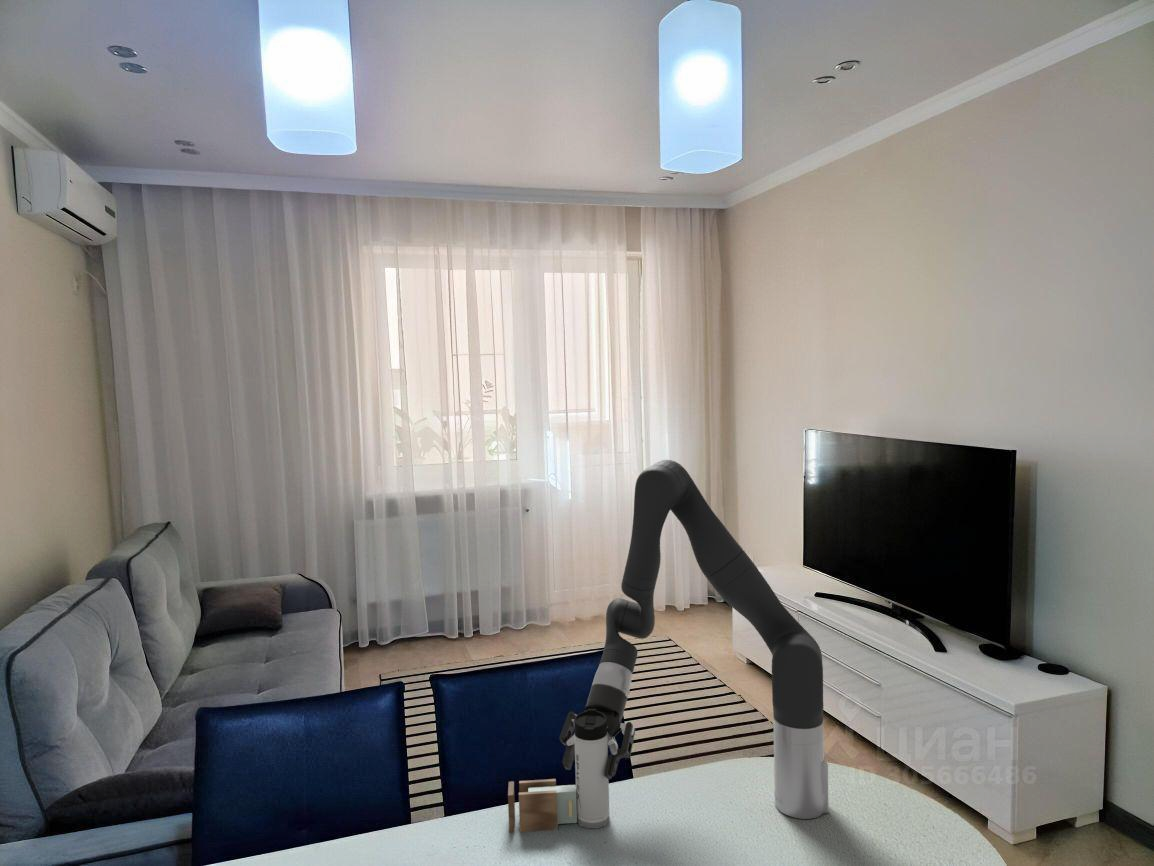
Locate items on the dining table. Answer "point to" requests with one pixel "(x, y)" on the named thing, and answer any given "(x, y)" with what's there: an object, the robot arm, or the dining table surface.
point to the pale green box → (563, 802)
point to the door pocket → (533, 806)
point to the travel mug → (591, 769)
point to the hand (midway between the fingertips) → (586, 773)
